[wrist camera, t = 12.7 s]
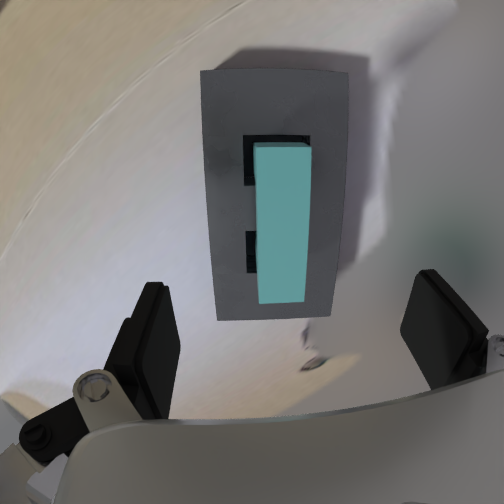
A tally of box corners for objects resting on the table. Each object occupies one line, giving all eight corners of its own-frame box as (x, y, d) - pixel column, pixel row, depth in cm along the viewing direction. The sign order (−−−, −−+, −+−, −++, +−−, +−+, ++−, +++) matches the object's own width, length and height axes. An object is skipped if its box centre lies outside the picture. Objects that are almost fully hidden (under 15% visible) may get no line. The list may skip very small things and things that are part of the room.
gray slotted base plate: (205, 75, 20) (200, 70, 18) (336, 76, 20) (348, 73, 18) (219, 300, 29) (217, 320, 26) (323, 297, 29) (330, 316, 26)
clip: (252, 136, 22) (256, 147, 16) (291, 135, 23) (311, 147, 16) (255, 253, 27) (258, 303, 20) (289, 252, 27) (304, 301, 20)
